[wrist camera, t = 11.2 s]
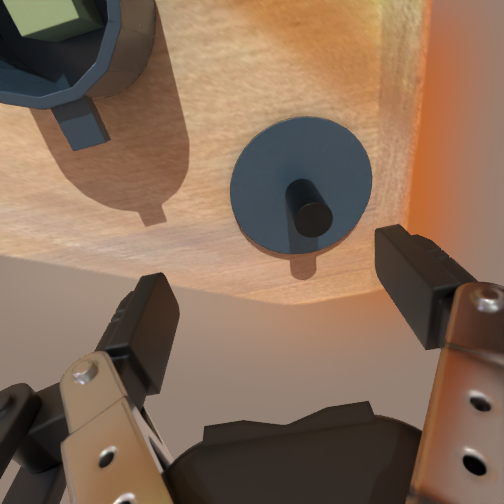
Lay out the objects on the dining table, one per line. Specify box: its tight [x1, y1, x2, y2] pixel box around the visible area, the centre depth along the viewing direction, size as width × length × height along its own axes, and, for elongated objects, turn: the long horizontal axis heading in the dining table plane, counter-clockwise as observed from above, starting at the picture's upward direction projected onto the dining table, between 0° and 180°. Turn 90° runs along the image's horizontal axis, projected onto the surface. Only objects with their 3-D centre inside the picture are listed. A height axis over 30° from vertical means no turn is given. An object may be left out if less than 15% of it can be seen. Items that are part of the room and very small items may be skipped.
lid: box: [230, 116, 372, 254], centre depth 26 cm, size 13×13×7 cm
